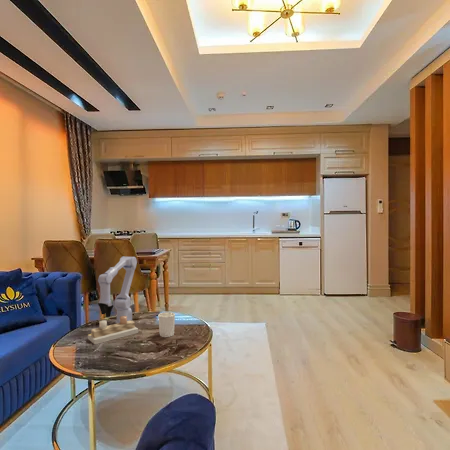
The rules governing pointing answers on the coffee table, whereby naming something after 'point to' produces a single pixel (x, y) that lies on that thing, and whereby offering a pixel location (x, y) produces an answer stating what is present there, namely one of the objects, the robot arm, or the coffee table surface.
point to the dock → (112, 336)
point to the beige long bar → (112, 329)
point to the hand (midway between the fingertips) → (105, 315)
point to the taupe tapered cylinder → (103, 324)
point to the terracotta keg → (123, 319)
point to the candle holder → (166, 324)
